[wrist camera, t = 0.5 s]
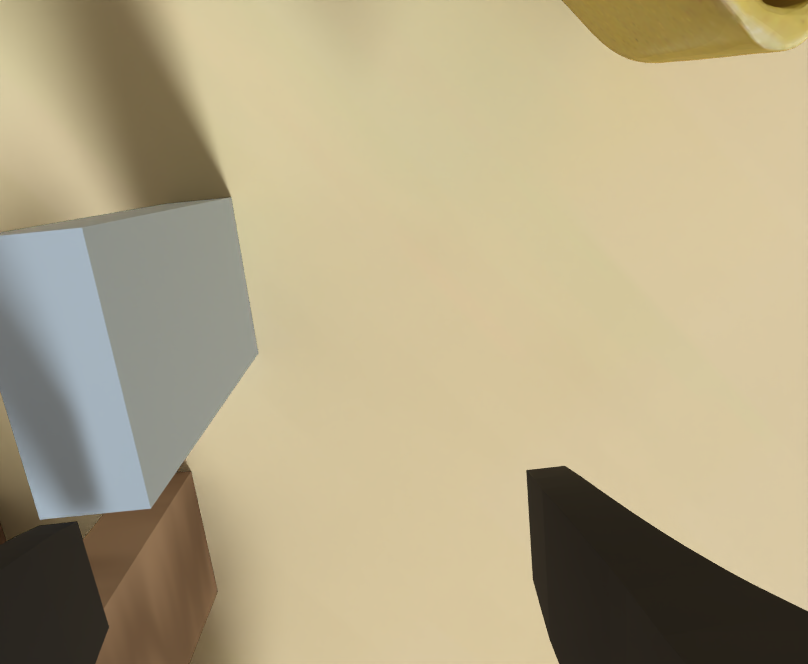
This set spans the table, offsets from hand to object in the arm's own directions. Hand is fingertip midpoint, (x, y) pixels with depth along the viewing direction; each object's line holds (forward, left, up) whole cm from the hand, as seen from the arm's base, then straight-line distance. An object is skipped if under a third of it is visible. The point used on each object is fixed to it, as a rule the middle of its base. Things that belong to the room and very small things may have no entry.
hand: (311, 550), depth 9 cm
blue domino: (+3, +4, -10) cm, 11 cm away
